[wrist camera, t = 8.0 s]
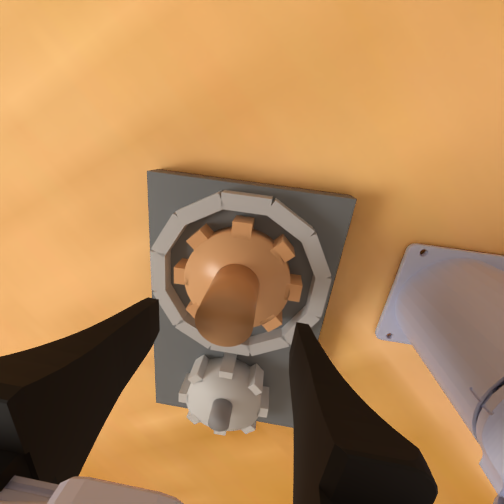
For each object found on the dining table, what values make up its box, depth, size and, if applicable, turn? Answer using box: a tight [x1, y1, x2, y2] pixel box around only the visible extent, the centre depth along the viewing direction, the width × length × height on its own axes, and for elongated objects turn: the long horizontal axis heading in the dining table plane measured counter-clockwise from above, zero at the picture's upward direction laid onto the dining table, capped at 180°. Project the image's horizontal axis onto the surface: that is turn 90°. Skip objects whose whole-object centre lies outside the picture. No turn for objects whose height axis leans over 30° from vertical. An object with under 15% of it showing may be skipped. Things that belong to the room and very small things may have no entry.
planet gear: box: [174, 215, 303, 347], centre depth 15 cm, size 8×8×6 cm
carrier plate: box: [147, 169, 357, 435], centre depth 19 cm, size 13×21×5 cm, turn 173°
